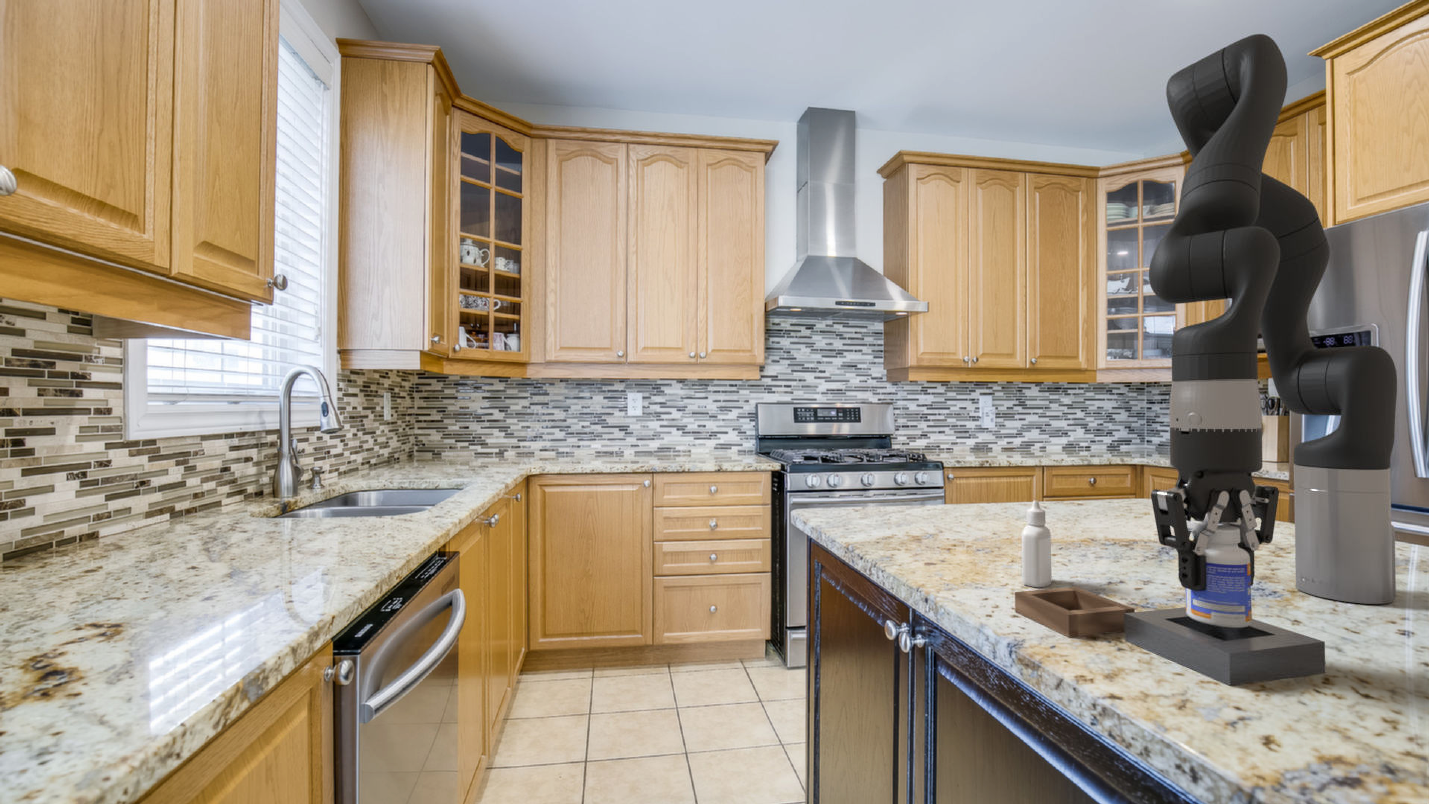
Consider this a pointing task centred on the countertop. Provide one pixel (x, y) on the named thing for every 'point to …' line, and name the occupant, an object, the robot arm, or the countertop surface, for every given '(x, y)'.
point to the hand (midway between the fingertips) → (1216, 586)
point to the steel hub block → (1226, 647)
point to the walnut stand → (1085, 618)
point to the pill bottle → (1223, 582)
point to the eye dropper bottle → (1036, 549)
